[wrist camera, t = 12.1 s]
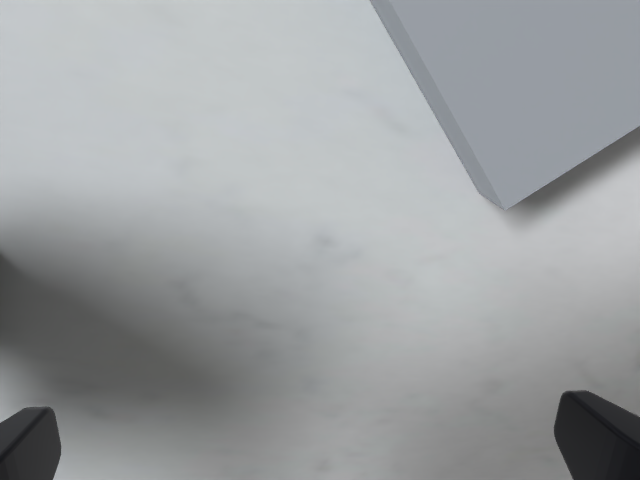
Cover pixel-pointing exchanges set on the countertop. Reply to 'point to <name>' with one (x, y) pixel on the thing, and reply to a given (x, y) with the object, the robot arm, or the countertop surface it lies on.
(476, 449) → the countertop surface
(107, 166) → the countertop surface
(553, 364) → the countertop surface
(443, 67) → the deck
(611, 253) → the countertop surface
